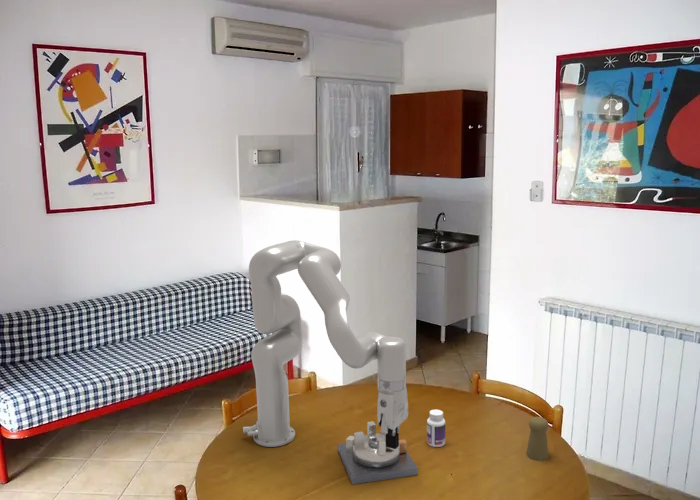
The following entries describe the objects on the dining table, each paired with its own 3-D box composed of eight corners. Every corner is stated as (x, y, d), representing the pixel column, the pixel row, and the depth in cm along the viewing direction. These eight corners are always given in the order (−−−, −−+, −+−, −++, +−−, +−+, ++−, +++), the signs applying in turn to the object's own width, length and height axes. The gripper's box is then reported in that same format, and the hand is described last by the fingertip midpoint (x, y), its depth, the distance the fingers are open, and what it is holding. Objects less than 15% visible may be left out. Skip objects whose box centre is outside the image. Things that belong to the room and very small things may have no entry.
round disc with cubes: (359, 470, 160) (358, 445, 159) (348, 446, 173) (347, 423, 171) (413, 462, 164) (413, 438, 162) (398, 439, 176) (398, 417, 175)
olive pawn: (548, 451, 172) (550, 415, 171) (548, 462, 167) (550, 425, 165) (526, 448, 174) (528, 412, 172) (525, 458, 169) (527, 422, 167)
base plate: (352, 484, 158) (352, 464, 157) (338, 450, 175) (337, 432, 174) (417, 474, 162) (417, 455, 161) (397, 442, 179) (397, 425, 178)
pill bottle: (447, 440, 180) (447, 410, 178) (442, 449, 175) (442, 417, 173) (430, 437, 182) (430, 406, 180) (424, 445, 177) (424, 414, 175)
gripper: (391, 396, 153) (391, 462, 156) (416, 376, 166) (416, 438, 169) (365, 390, 157) (366, 455, 160) (392, 371, 170) (392, 432, 173)
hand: (392, 446), depth 165 cm, fingers closed
